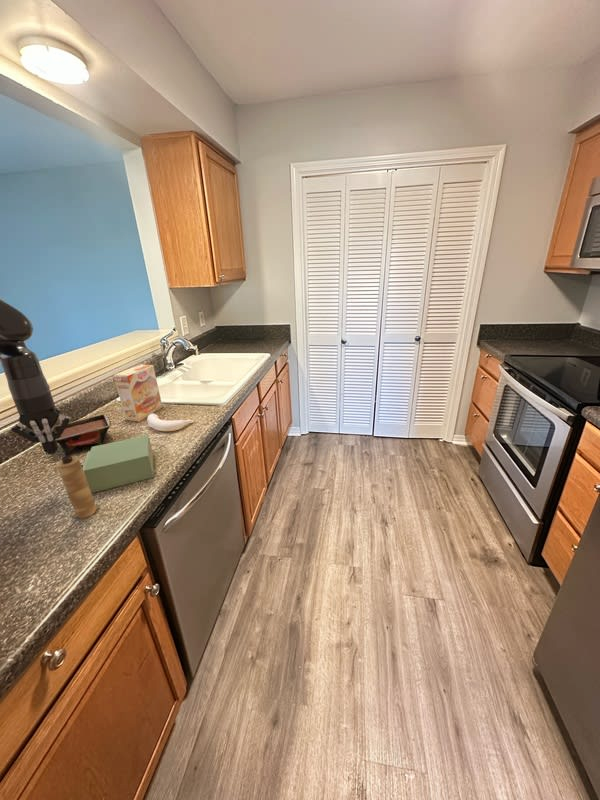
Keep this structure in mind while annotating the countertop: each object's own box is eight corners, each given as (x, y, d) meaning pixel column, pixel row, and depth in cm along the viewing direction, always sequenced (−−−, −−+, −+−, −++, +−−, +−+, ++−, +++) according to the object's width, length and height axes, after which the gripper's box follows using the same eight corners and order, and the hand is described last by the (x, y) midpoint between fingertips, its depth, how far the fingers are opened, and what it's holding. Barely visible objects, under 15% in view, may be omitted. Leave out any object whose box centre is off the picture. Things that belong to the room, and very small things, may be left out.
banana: (141, 422, 129) (177, 411, 138) (160, 440, 116) (198, 426, 125) (139, 411, 127) (175, 400, 136) (157, 428, 114) (196, 415, 123)
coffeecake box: (139, 421, 130) (127, 375, 122) (124, 420, 132) (112, 374, 124) (163, 407, 143) (154, 364, 135) (150, 405, 145) (140, 363, 137)
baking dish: (113, 450, 114) (111, 423, 111) (50, 459, 104) (45, 430, 102) (111, 436, 125) (109, 412, 123) (54, 444, 116) (50, 417, 114)
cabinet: (91, 493, 88) (83, 470, 86) (98, 467, 100) (91, 446, 97) (153, 477, 94) (148, 455, 91) (153, 454, 106) (148, 434, 103)
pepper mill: (74, 520, 79) (52, 464, 73) (78, 509, 82) (57, 455, 76) (95, 514, 80) (75, 459, 74) (97, 504, 84) (79, 451, 78)
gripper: (-9, 402, 75) (18, 465, 82) (59, 392, 80) (78, 453, 87) (3, 392, 82) (27, 451, 88) (65, 384, 87) (83, 441, 93)
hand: (52, 452), depth 88 cm, fingers closed
